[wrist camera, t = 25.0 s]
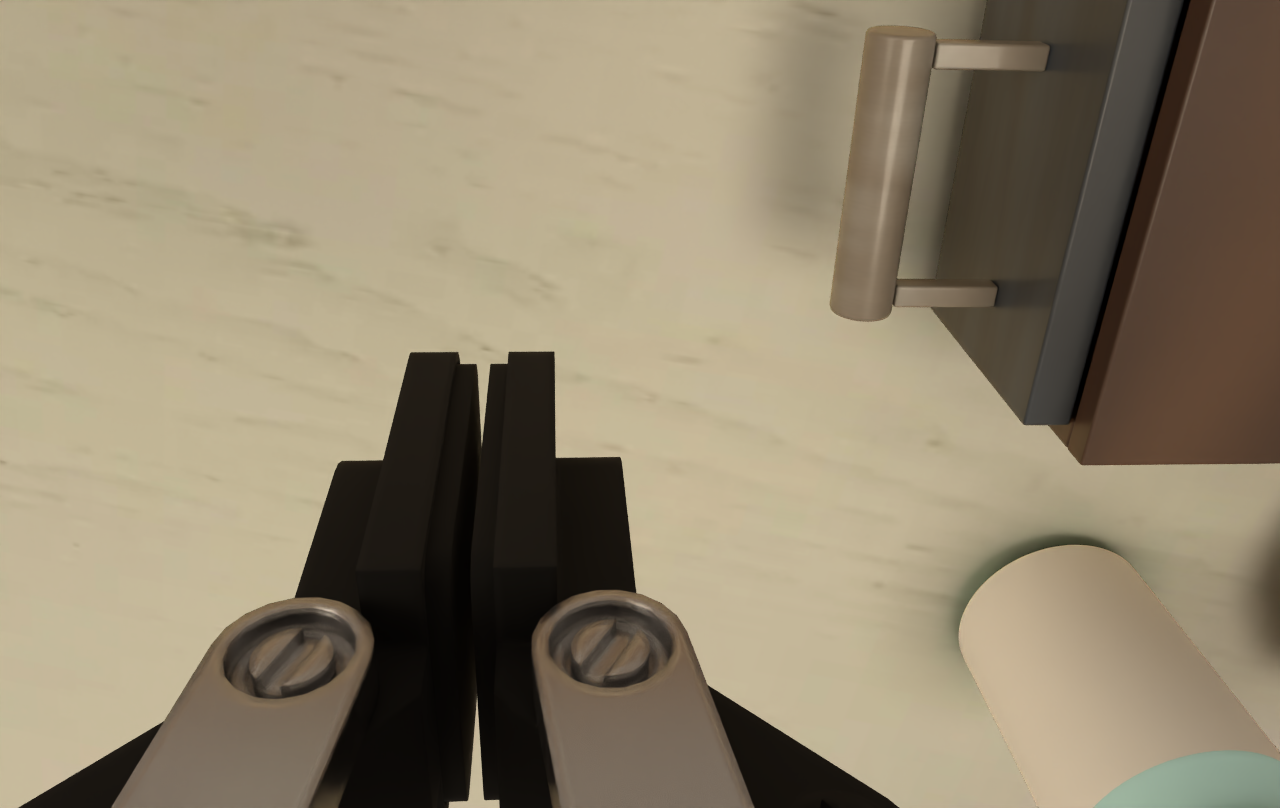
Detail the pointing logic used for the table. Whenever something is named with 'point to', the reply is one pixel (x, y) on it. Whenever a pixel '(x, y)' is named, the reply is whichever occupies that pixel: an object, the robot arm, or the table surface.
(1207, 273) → the cabinet
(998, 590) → the can
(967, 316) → the drawer
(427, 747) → the robot arm
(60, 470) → the table surface
